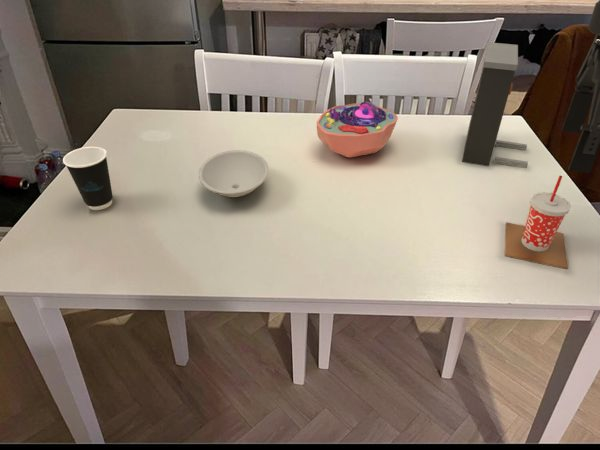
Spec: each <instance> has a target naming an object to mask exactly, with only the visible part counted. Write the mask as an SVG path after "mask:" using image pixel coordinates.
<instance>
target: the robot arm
mask: <svg viewBox="0 0 600 450" xmlns="http://www.w3.org/2000/svg"><path fill="white" fill-rule="evenodd" d="M587 29H588V31H589V32H591V33H592V34H594V35H595V36H594V37H593V41H592V44H591V45H590V48H589V50H588V52H587V55H586V56H585V59H584V60H583V63H582V65H581V67H580V69H579V71H578V73H577V75H576V77H575V83H576V84H575V86H574V88H575V90H574V93H573V95H572V97H571V101H570V103H569V107H568V110H567V112H566V115H565V117H564V121H563V124H562V127H561V132H566V133H575V134H580V136H579V138H578V140H577V141H578V142H577V144H576V146H575V149H574V151H573V152H574V153H573V154H572V157H571V159H570V162H569V165H568V171H572V172H577V173H586V174H590V173H591V171H592V168H593V166H594V163H595V161H596V159H597V156H598V154H599V151H600V0H598V1H597V2H595V5H594V8H593V10H592V13H591V15H590V20H589V23H588V24H587ZM588 112H589V113H588ZM587 115H588V118H587ZM586 118H587V122H586V123H587V124H586V123H585V121H586ZM584 123H585V124H584Z"/></svg>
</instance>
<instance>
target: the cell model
mask: <svg viewBox="0 0 600 450" xmlns="http://www.w3.org/2000/svg"><path fill="white" fill-rule="evenodd" d="M398 120H399V117H398V115H397V114H396V113H395V112H394V111H392V110H389V109H387V108H384V107H382V106H378V105H376V104H374V103H372V102H370V101H362V102H360V103H358V102H357V103H356V102H355V103H348V104H341V105H340V104H339V105H335V106H333V107H330V108H329V109H327V110H325V111H324V112H323V113H321V115H320V116H319V118H318V119H317V120H316V133H317V137H318V138H319V140H320V141H321V142H322V143H323V144H324V145H325V146H326V147H327V148H328V149H329V150H330V151H332V152H334V153H335V154H339V155H341V156H343V157H344V158H345V157H346V158H356V157H361V156H366V155H372V154H375V153H377V152H379V151H381V150H382V148H384V147H385V145H386V144H387V143H388V142H389V140H390V138H391V137H392V134H393V132H394V129H395V127H396V125H397V122H398Z"/></svg>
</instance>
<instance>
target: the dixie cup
mask: <svg viewBox="0 0 600 450" xmlns="http://www.w3.org/2000/svg"><path fill="white" fill-rule="evenodd" d="M107 156H108V151H107V150H106V149H104V148H103V147H99V146H83V147H80V148H76V149H73V150H72V151H69V152H68V153H66V154H65V155H64V156H63V158H62V163H63V164H64V165H65V167H66V168H67V170H68V173H69V174H70V176H71V178H72V180H73V183H74V184H75V186H76V188H77V190H78V192H79V194H80V196H81V198H82V200H83V202H84V204H85V205H86V206H87V208H88V209H89V210H92V211H101V210H105V209H108V207H110V206H111V205H112V204H113V197H114V195H113V190H112V184H111V177H110V171H109V165H108V158H107ZM108 203H109V204H108ZM106 204H107V205H106ZM104 205H105V206H104ZM89 206H91V207H89ZM101 206H103V207H101ZM93 207H98V208H93Z"/></svg>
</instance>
